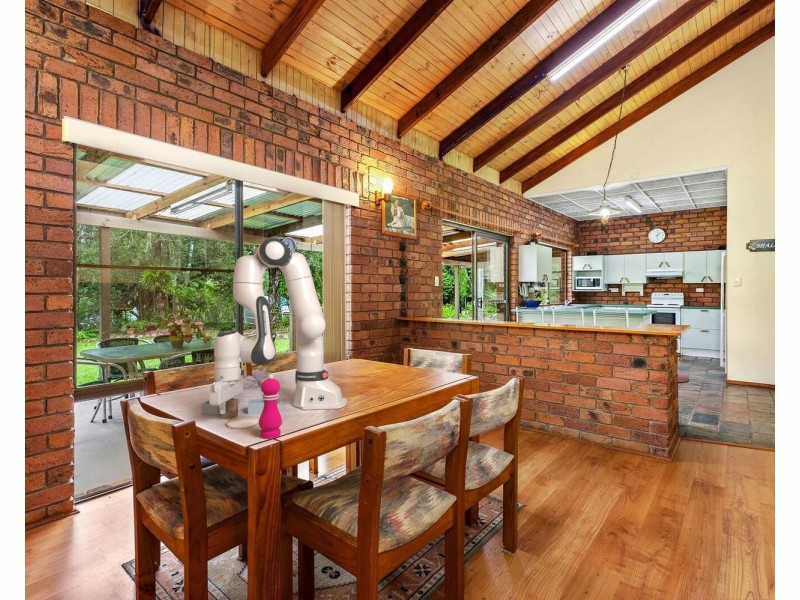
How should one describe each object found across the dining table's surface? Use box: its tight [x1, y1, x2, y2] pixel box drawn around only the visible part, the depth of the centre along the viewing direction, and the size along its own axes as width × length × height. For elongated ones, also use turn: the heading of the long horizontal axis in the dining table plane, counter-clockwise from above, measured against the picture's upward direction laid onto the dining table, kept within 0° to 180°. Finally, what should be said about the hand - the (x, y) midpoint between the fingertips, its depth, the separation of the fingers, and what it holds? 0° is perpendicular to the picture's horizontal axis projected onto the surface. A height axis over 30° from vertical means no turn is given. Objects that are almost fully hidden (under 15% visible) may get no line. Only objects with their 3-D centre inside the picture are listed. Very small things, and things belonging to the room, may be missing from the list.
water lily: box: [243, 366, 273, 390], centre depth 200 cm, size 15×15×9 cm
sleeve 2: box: [247, 398, 264, 415], centre depth 160 cm, size 6×6×4 cm
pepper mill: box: [258, 373, 283, 440], centre depth 132 cm, size 7×7×20 cm
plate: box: [226, 415, 259, 430], centre depth 144 cm, size 10×10×1 cm
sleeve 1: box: [200, 399, 220, 416], centre depth 159 cm, size 6×6×4 cm
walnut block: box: [222, 398, 239, 420], centre depth 152 cm, size 4×4×6 cm
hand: (227, 411), depth 152 cm, fingers open, 4 cm apart
